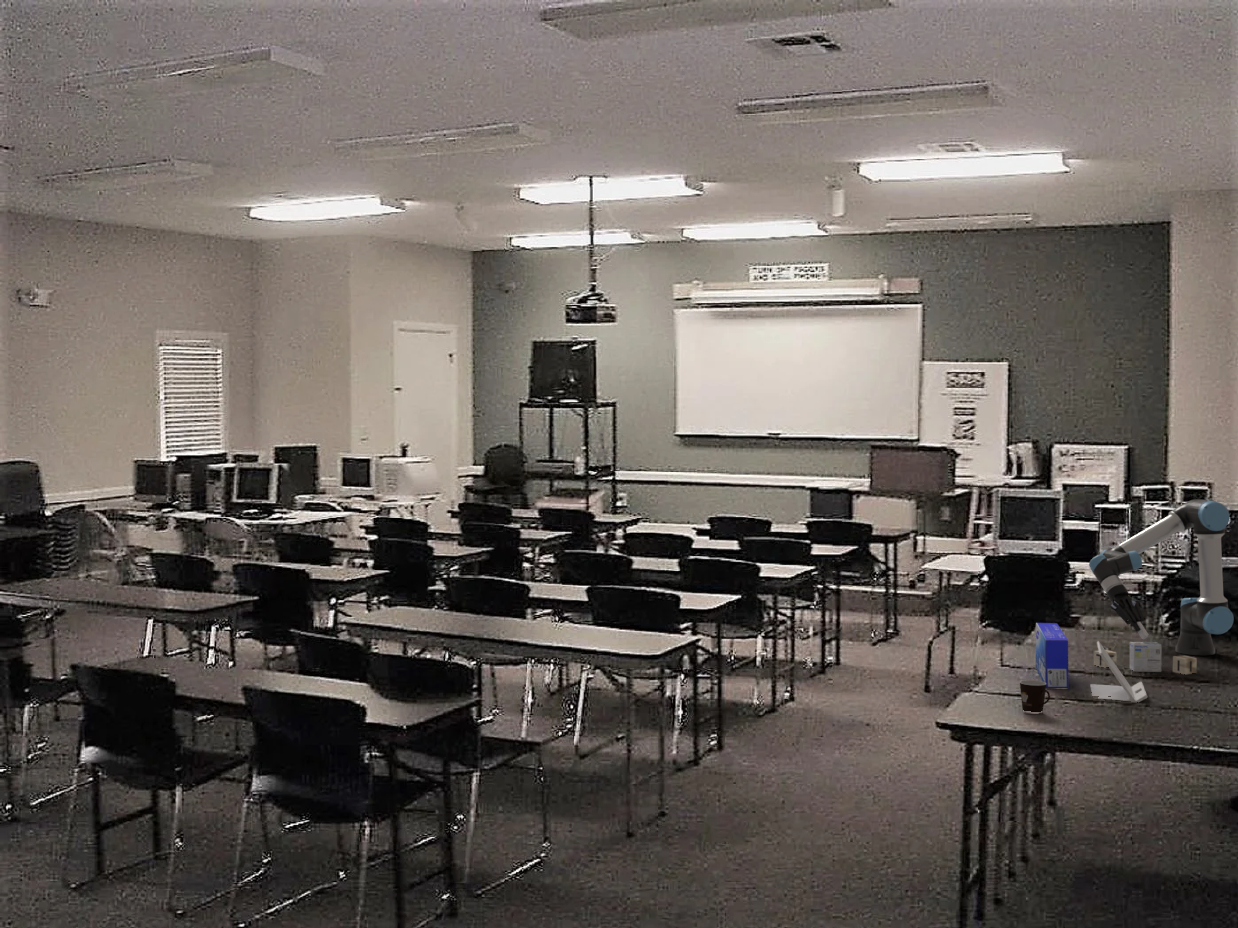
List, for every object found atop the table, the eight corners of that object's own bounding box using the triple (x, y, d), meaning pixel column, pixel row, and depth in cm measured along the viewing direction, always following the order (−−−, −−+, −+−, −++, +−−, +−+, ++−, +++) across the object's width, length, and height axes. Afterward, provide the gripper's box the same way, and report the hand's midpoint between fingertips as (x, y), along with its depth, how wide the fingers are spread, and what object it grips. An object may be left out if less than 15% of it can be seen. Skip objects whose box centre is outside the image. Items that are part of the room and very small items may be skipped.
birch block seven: (1105, 664, 536) (1105, 649, 535) (1116, 667, 530) (1116, 652, 530) (1093, 665, 533) (1093, 650, 533) (1104, 668, 528) (1104, 653, 527)
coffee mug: (1016, 709, 455) (1016, 679, 455) (1041, 709, 455) (1042, 680, 454) (1025, 717, 443) (1026, 687, 443) (1051, 717, 443) (1052, 687, 443)
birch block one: (1184, 670, 524) (1184, 655, 524) (1196, 673, 518) (1197, 658, 518) (1172, 671, 522) (1172, 656, 521) (1184, 674, 516) (1184, 659, 516)
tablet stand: (1092, 700, 471) (1093, 651, 470) (1089, 686, 495) (1090, 640, 494) (1148, 703, 465) (1149, 654, 465) (1142, 689, 489) (1143, 642, 489)
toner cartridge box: (1034, 669, 527) (1035, 622, 526) (1057, 669, 525) (1058, 622, 524) (1044, 689, 489) (1045, 638, 488) (1068, 690, 487) (1069, 639, 486)
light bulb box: (1156, 668, 527) (1157, 641, 526) (1161, 672, 520) (1162, 644, 520) (1128, 668, 528) (1129, 641, 528) (1133, 671, 521) (1133, 644, 521)
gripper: (1122, 594, 544) (1153, 641, 529) (1097, 596, 539) (1127, 644, 524) (1132, 582, 538) (1163, 630, 524) (1107, 584, 533) (1137, 632, 519)
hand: (1145, 637), depth 524 cm, fingers closed
